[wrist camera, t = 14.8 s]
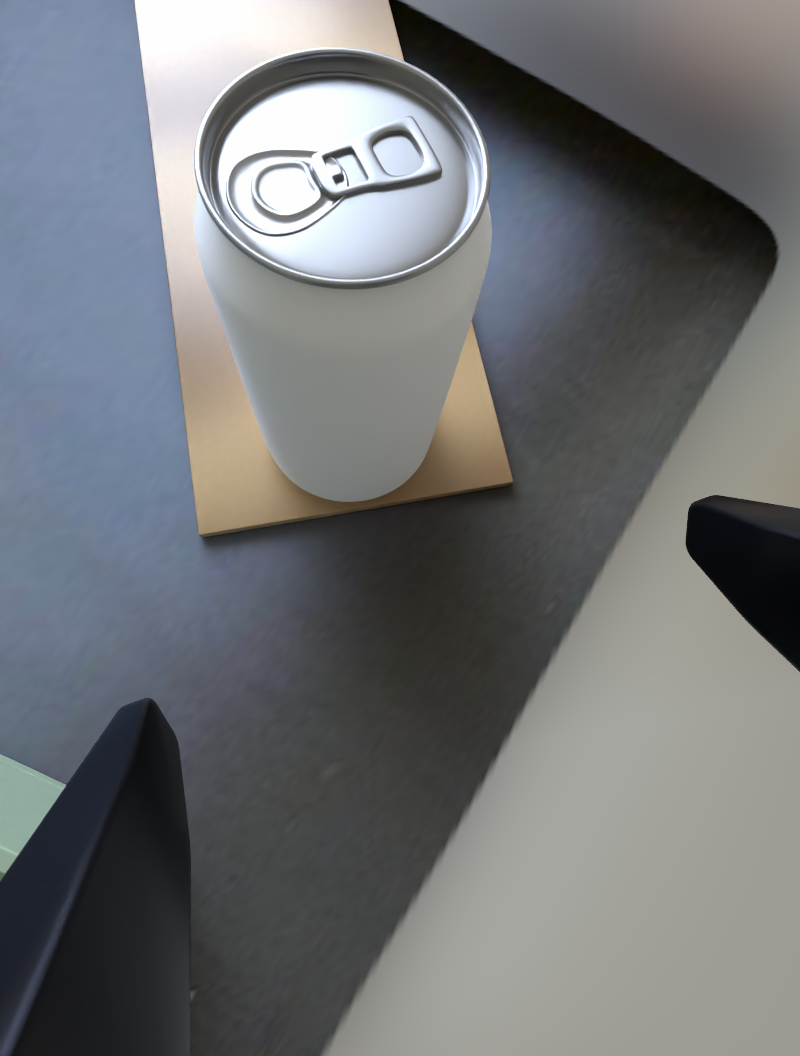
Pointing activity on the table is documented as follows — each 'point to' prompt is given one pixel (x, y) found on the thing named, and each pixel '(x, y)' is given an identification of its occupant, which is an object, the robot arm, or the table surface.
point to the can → (343, 257)
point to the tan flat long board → (202, 347)
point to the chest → (22, 806)
